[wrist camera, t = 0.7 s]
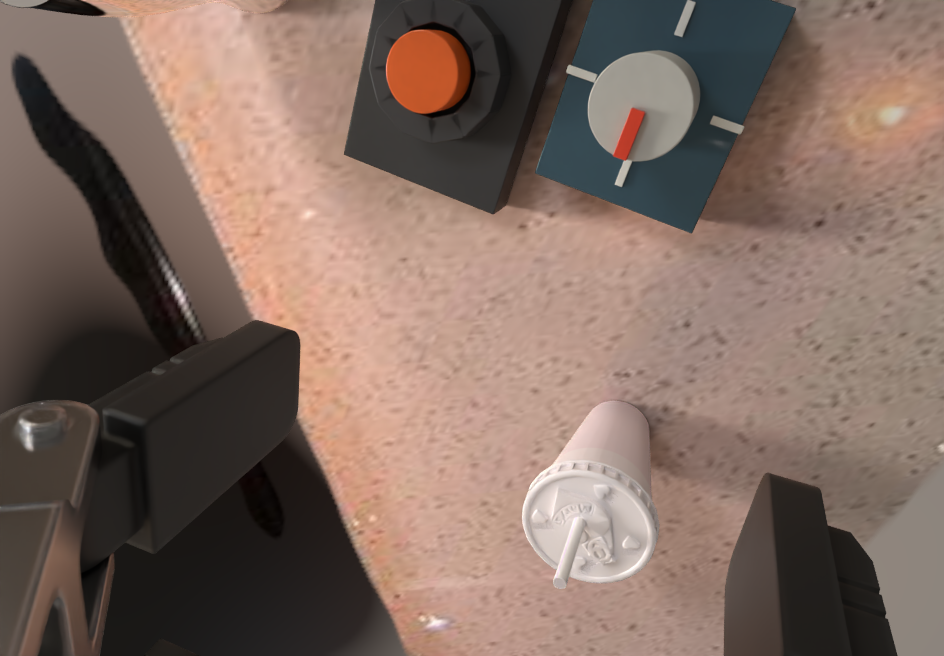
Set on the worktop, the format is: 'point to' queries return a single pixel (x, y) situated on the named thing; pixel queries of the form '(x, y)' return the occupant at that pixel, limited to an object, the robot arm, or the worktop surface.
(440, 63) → the button
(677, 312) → the worktop surface
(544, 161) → the knob panel
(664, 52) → the dial
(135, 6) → the silver metal cup
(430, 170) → the orange push button panel
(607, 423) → the smoothie
